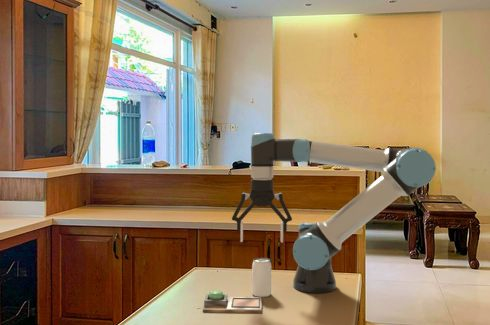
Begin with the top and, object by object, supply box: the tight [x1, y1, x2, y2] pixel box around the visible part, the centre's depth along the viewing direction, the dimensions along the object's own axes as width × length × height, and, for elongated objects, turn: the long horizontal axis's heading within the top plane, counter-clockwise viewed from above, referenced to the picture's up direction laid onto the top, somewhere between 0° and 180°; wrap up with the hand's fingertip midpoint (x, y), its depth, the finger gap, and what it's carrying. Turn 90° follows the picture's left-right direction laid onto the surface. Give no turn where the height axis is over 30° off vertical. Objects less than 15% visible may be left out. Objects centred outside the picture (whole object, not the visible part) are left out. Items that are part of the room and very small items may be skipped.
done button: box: [208, 290, 224, 300], centre depth 162 cm, size 4×4×2 cm
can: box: [251, 257, 272, 298], centre depth 173 cm, size 6×6×12 cm
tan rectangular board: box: [202, 293, 263, 314], centre depth 162 cm, size 18×13×3 cm
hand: (261, 241), depth 173 cm, fingers open, 13 cm apart
